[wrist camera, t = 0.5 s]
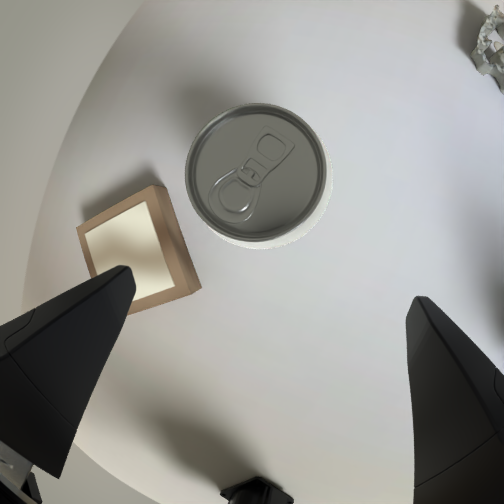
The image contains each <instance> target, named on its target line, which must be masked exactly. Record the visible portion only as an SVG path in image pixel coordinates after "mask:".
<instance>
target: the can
mask: <svg viewBox="0 0 504 504" xmlns="http://www.w3.org/2000/svg"><path fill="white" fill-rule="evenodd" d="M185 183H186V189H187V193H188V196H189V199H190V201H191V204H192V206H193V207H194V209H195V211H196V212H197V214H198V215H199V216H200V218H201V219H202V220H203V221H204V223H205V224H206V225H207V226H208V227H209V228H210V229H211V230H212V231H213V232H214V233H215V234H217V235H218V236H219V237H221V238H222V239H224V240H226V241H228V242H230V243H232V244H235V245H237V246H241V247H245V248H250V249H271V248H277V247H281V246H284V245H287V244H289V243H291V242H294V241H295V240H297V239H299V238H301V237H302V236H304V235H305V234H306V233H307V232H309V231H310V230H311V229H312V228H313V227H314V226H315V225H316V223H317V222H318V221H319V219H320V218H321V217H322V215H323V213H324V212H325V210H326V208H327V205H328V203H329V200H330V197H331V193H332V187H333V170H332V164H331V159H330V156H329V153H328V151H327V148H326V146H325V145H324V143H323V141H322V140H321V138H320V137H319V135H318V134H317V133H316V132H315V131H314V130H313V129H312V128H311V127H310V126H309V125H308V124H307V123H306V122H305V121H304V120H303V119H302V118H300V117H299V116H298V115H296V114H294V113H293V112H291V111H289V110H287V109H285V108H282V107H279V106H275V105H271V104H264V103H252V104H244V105H240V106H236V107H233V108H231V109H228V110H226V111H224V112H222V113H220V114H219V115H217V116H216V117H214V118H213V119H212V120H210V121H209V122H208V123H207V124H206V125H205V126H204V127H203V128H202V130H201V131H200V132H199V133H198V135H197V136H196V138H195V140H194V141H193V143H192V145H191V148H190V150H189V153H188V156H187V160H186V166H185Z"/></svg>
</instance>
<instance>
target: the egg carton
mask: <svg viewBox="0 0 504 504" xmlns="http://www.w3.org/2000/svg"><path fill="white" fill-rule="evenodd" d="M481 27H482V28H481V30H480V33H479V34H478V36H477V42H478V45H477V47H476V48H475V49H474V50H473V51H472V53H471V58H472V59H473V60H474V62H475V63H476V68H477V71H478V72H480V73H481V74H482V75H483V76H484V75H486V74H490V75H492V76H494V77H495V78H496V80H497V81H498V83H499V85H500V91H501V92H502V93H503V94H504V45H503V44H501V43H500V42H494V47H495V49H496V51H497V52H496V53H495V54H493V55H492V56H491V57H490V64H488V63H487V62H486V61H485V58H486V55H485V54H484V52H483V51H484V50H486V48H487V47H488V46H489V45H490V44H491V43H492V40H489V39H488V36H489V35H490V34H491V33H492V31H493V30H494V29H495V28H496V29H497V31H498V34H499V36H500V37H501V38H502V39H503V40H504V14H503V13H502V12H500V11H499V6H498V5H496V6H495V8H494V10H493V12H492V13H491V15H488V16H486V17H485V19H484V21H483V22H482V24H481Z"/></svg>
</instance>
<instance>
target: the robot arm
mask: <svg viewBox="0 0 504 504" xmlns="http://www.w3.org/2000/svg"><path fill="white" fill-rule="evenodd" d="M135 293H136V283H135V279H134V276H133V272H132V269H131V268H130V267H129V266H126V265H117V266H115V267H113V268H111V269H109V270H107V271H105V272H103V273H101V274H99V275H97V276H95V277H93V278H91V279H89V280H87V281H85V282H83V283H81V284H79V285H78V286H76V287H74V288H72V289H70V290H68V291H66V292H64V293H62V294H60V295H58V296H56V297H55V298H53V299H51V300H49V301H47V302H45V303H43V304H41V305H40V306H38V307H36V308H34V309H32V310H30V311H29V312H27V313H25V314H23V315H21V316H19V317H17V318H15V319H13V320H12V321H9V322H7V323H5V324H3V325H1V326H0V504H42V499H41V496H40V493H39V489H38V486H37V483H36V479H35V475H34V473H32V472H31V469H32V467H33V465H36V466H37V467H39V468H40V469H42V470H44V471H45V472H47V473H49V474H50V475H52V476H54V477H56V478H57V479H59V477H60V476H61V473H62V470H63V467H64V464H65V461H66V459H67V456H68V453H69V450H70V447H71V445H72V442H73V439H74V437H75V434H76V432H77V430H76V429H78V426H79V424H80V421H81V419H82V416H83V414H84V411H85V409H86V406H87V404H88V402H89V399H90V397H91V395H92V392H93V390H94V388H95V385H96V383H97V381H98V379H99V376H100V374H101V372H102V370H103V367H104V365H105V363H106V361H107V359H108V357H109V355H110V352H111V350H112V348H113V346H114V344H115V342H116V340H117V338H118V336H119V334H120V331H121V329H122V327H123V324H124V322H125V319H126V317H127V314H128V311H129V309H130V306H131V303H132V301H133V298H134V296H135ZM406 338H407V363H408V374H409V382H410V392H411V402H412V414H413V430H414V499H413V504H504V375H503V374H502V373H501V372H500V370H499V369H498V368H496V366H495V365H494V364H493V363H492V362H491V360H490V359H489V358H488V357H487V356H486V355H485V354H484V353H483V352H482V351H481V350H480V349H479V347H478V346H477V345H476V344H475V343H474V342H473V341H472V340H471V339H470V338H469V337H468V336H467V335H466V334H465V333H464V332H463V331H462V330H461V329H460V328H459V327H458V326H457V325H456V324H455V323H454V322H453V321H452V320H451V319H450V318H449V317H448V316H447V315H446V314H445V313H444V312H443V311H442V310H441V309H440V308H439V307H438V306H437V305H436V304H435V303H434V302H433V301H432V300H431V299H430V298H428V297H426V296H416V297H415V298H414V299H413V302H412V304H411V307H410V309H409V311H408V314H407V316H406ZM220 495H221V496H222V497H224V498H225V499H227V500H228V501H229V502H228V504H293V503H294V499H292V498H291V497H289V496H287V495H286V494H284V493H283V492H281V491H280V490H278V489H277V488H275V487H274V486H272V485H271V484H269V483H268V482H266V481H265V480H263V479H262V478H260V477H255V478H252V479H250V480H248V481H245V482H243V483H240V484H238V485H235V486H233V487H230V488H227V489H225V490H222V491H221V492H220Z"/></svg>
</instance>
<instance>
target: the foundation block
mask: <svg viewBox="0 0 504 504" xmlns="http://www.w3.org/2000/svg"><path fill="white" fill-rule="evenodd" d="M76 229H77V233H78V237H79V240H80V244H81V247H82V251H83V254H84V257H85V261H86V264H87V267H88V270H89V273H90V276H91V278H93V277H95V276H97V275H99V274H101V273H103V272H105V271H107V270H109V269H111V268H113V267H115V266H117V265H126V266H129V267H130V268H131V269H132V272H133V276H134V279H135V283H136V293H135V296H134V298H133V301H132V303H131V306H130V309H129V311H128V314H127V315H130V314H133V313H137V312H140V311H143V310H146V309H149V308H152V307H155V306H158V305H161V304H164V303H167V302H170V301H173V300H176V299H179V298H182V297H185V296H188V295H191V294H193V293H194V292H196V291H198V290H199V289H201V288H202V287H201V284H200V282H199V279H198V276H197V274H196V271H195V268H194V266H193V263H192V260H191V257H190V255H189V252H188V249H187V246H186V244H185V241H184V238H183V235H182V232H181V230H180V227H179V224H178V221H177V218H176V215H175V212H174V209H173V206H172V203H171V200H170V197H169V194H168V191H167V188H165V187H161V186H157V185H151V186H149V187H147V188H145V189H143V190H141V191H139V192H137V193H135V194H134V195H132V196H130V197H128V198H126V199H124V200H123V201H121V202H119V203H117V204H115V205H114V206H112V207H110V208H108V209H107V210H105V211H103V212H101V213H100V214H98V215H96V216H95V217H93V218H91V219H90V220H88V221H86V222H85V223H83V224H81V225H80V226H78V227H76Z"/></svg>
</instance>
